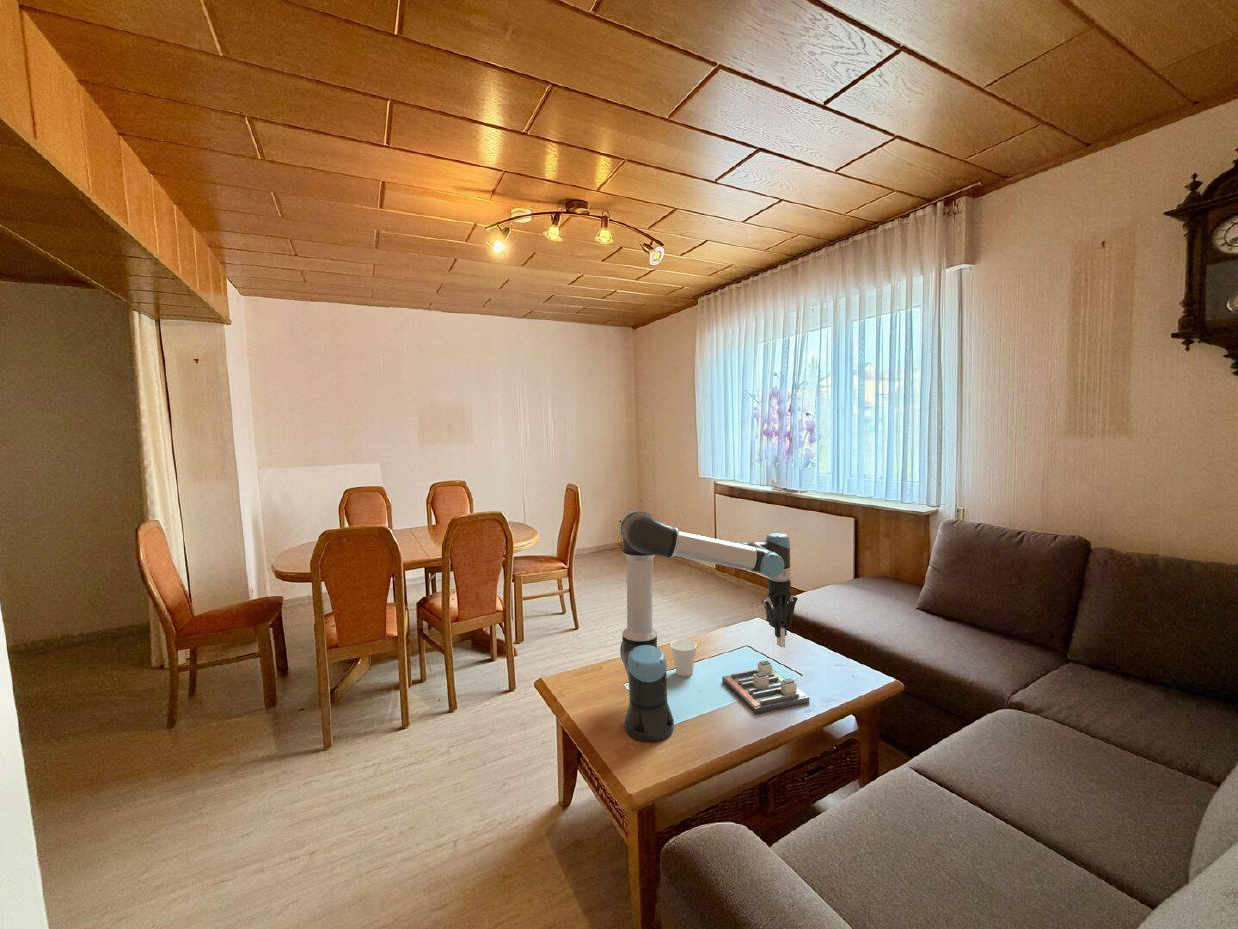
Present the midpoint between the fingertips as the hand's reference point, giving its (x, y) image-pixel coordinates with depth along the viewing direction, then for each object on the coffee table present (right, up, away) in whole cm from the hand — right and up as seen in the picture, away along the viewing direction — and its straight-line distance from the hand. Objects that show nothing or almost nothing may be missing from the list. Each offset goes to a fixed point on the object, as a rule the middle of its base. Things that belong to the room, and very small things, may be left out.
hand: (781, 645), depth 168 cm
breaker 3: (0, -13, -7) cm, 15 cm away
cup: (-32, -16, +15) cm, 38 cm away
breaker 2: (-7, -14, -2) cm, 15 cm away
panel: (-6, -16, -1) cm, 17 cm away
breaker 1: (-4, -13, +7) cm, 15 cm away
